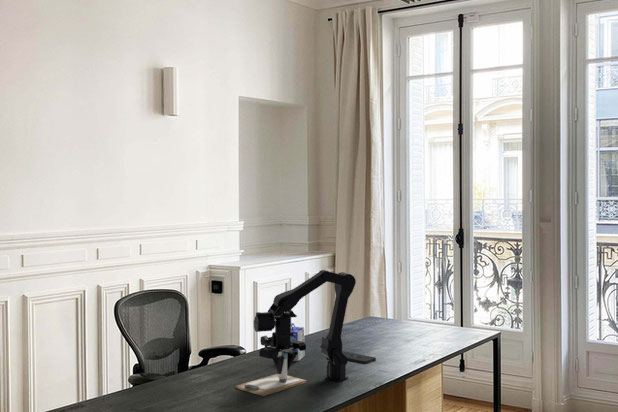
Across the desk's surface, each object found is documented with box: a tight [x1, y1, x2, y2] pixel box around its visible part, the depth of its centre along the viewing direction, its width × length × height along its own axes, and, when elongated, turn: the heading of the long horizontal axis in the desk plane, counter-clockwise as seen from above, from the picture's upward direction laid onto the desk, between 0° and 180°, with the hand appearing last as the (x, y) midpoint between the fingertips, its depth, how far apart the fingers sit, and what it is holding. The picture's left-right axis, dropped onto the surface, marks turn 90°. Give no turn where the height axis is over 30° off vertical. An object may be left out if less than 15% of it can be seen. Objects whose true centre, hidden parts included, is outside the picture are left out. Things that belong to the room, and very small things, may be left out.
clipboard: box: [235, 373, 307, 397], centre depth 248 cm, size 14×22×2 cm, turn 138°
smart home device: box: [342, 350, 377, 365], centre depth 288 cm, size 8×2×20 cm
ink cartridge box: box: [291, 322, 306, 362], centre depth 287 cm, size 10×6×14 cm, turn 164°
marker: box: [277, 353, 288, 382], centre depth 249 cm, size 3×3×10 cm
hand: (283, 372), depth 249 cm, fingers closed on marker, 3 cm apart
